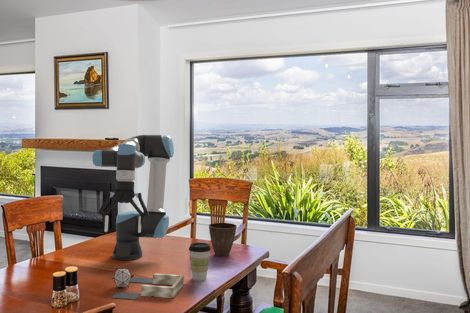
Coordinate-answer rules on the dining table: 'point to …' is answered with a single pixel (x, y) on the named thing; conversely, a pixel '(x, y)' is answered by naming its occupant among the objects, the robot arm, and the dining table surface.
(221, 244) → the plant pot
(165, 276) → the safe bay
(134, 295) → the mats
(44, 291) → the dining table surface
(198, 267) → the coffee cup
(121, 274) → the game die
